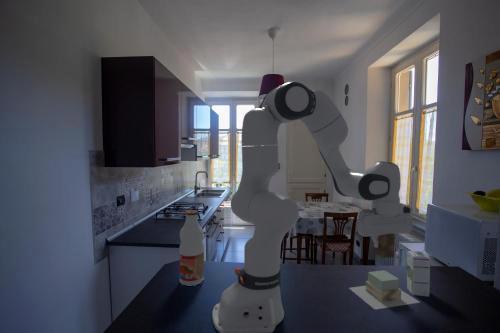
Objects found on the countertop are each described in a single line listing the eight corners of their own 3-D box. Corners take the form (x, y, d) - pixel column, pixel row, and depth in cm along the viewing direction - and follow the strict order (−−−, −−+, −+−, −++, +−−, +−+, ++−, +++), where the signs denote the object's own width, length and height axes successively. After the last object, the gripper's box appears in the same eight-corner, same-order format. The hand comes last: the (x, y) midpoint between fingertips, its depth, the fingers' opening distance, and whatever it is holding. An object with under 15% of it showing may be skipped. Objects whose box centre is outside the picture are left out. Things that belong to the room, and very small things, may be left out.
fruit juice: (207, 283, 101) (207, 212, 100) (183, 290, 97) (182, 215, 95) (199, 274, 110) (199, 207, 108) (176, 279, 105) (176, 210, 104)
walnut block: (383, 258, 90) (383, 235, 90) (373, 253, 94) (374, 231, 94) (394, 256, 91) (394, 234, 91) (384, 252, 96) (385, 230, 95)
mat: (374, 310, 84) (374, 309, 84) (348, 288, 98) (348, 287, 98) (420, 303, 89) (420, 302, 89) (389, 283, 102) (389, 282, 102)
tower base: (381, 302, 89) (381, 292, 88) (365, 290, 96) (365, 281, 96) (401, 299, 90) (401, 289, 90) (384, 287, 98) (384, 278, 98)
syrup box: (430, 297, 92) (431, 257, 92) (411, 295, 94) (412, 255, 93) (422, 289, 98) (424, 251, 97) (405, 287, 99) (406, 250, 98)
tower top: (381, 291, 89) (382, 281, 89) (367, 281, 96) (368, 272, 96) (398, 288, 91) (399, 279, 90) (384, 279, 97) (384, 270, 97)
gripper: (365, 211, 86) (364, 252, 87) (416, 208, 91) (415, 247, 92) (353, 207, 92) (352, 245, 93) (402, 204, 97) (400, 241, 98)
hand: (384, 246), depth 93 cm, fingers closed on walnut block, 4 cm apart
